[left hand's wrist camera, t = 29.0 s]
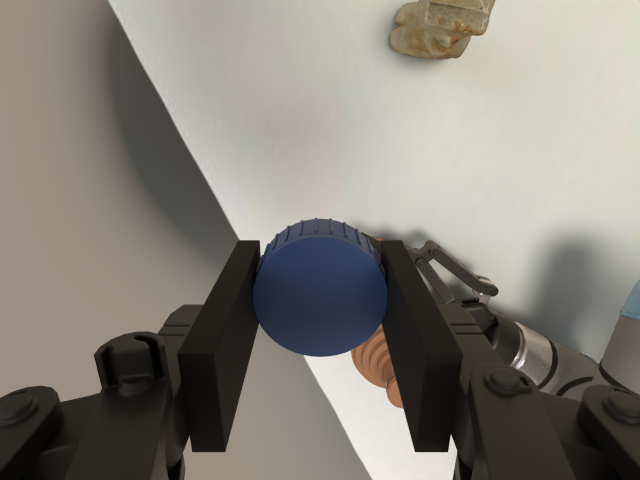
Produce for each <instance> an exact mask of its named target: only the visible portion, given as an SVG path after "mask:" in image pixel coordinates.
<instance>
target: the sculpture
mask: <svg viewBox="0 0 640 480" xmlns="http://www.w3.org/2000/svg"><path fill="white" fill-rule="evenodd" d="M494 3H495V0H419V1H418V2H417V3H408V4H404V5H402V6H401V8H400V9H399V11H398V14H397V16H396V20H395V22H396V24H398V25H399V27H398V28H397V29H395V30H393V31H392V33H391V36H390V45H391V47H392V48H393V49H394V50H395V51H397V52H399V53H402V54H406V55H410V56H415V57H423V58H431V59H449V58H458V57H460V56H461V55H462V53H463V52H464V50H465V49H466V47H467V45H468V43H469V41H470V38H471V35H475V36H478V35H483V34H484V33H485V32H486V30H487V27H488V23H489V17H490V13H491V10H492V8H493V6H494Z"/></svg>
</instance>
